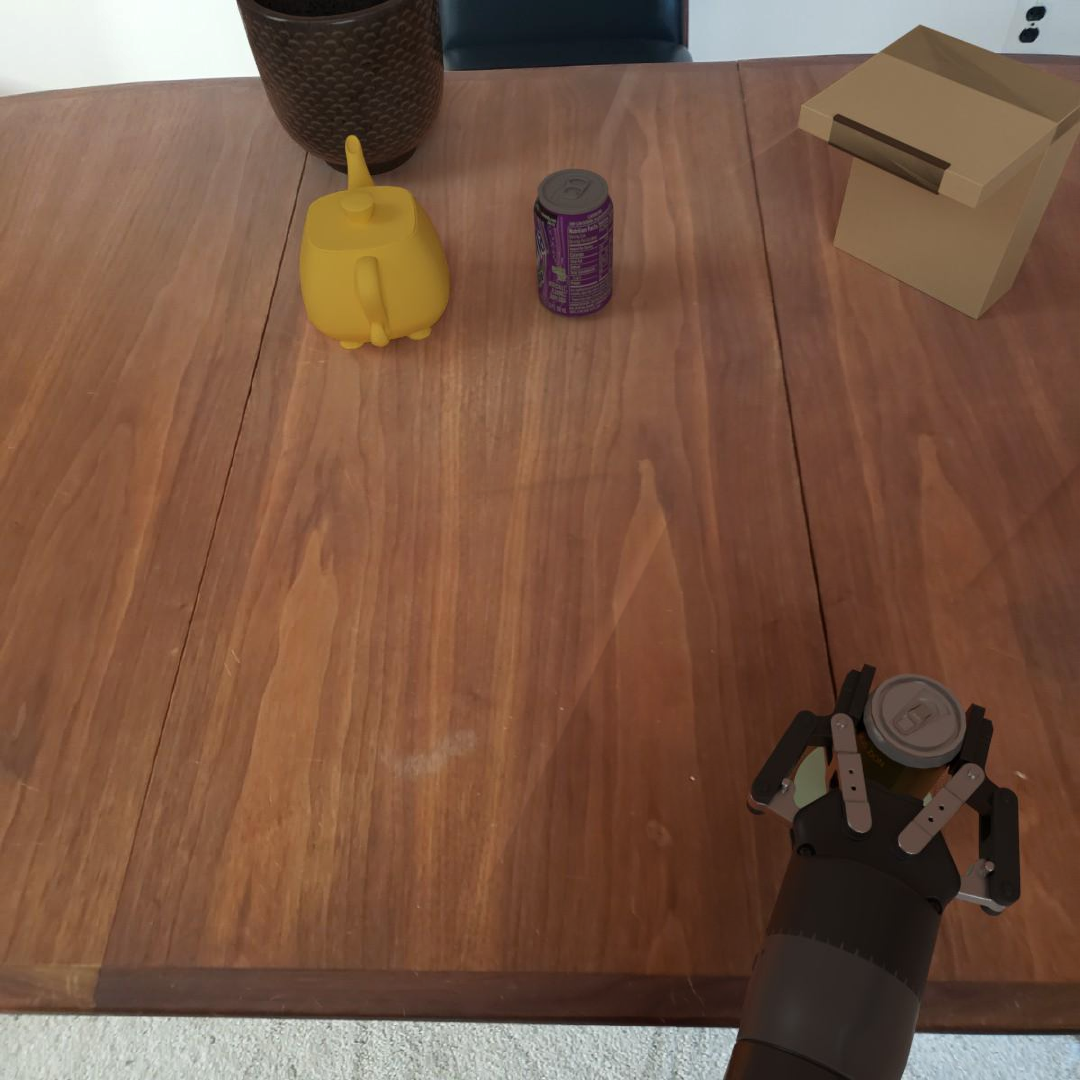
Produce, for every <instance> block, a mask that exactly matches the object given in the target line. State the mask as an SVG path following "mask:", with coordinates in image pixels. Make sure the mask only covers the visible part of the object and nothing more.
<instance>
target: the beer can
mask: <svg viewBox="0 0 1080 1080" xmlns="http://www.w3.org/2000/svg"><path fill="white" fill-rule="evenodd" d="M965 730H966V715H965V710H964V708H963V705H962V703H961V701H960V700H959V699H958V698H957V696H956V695H955V694H954V692H953V691H952V690H951V689H949V688H948V687H947V686H946V685H945V684H943V683H942V682H940V681H939V680H936V679H934V678H932V677H930V676H927V675H925V674H924V675H923V674H917V673H901V674H896V675H894V676H891V677H889V678H888V679H885V680H884V681H883V682H882V683H881V684H878V685H877V686H875V688H874V689H873V690H872V691H871V692H869V694H868V697H867V700H866V703H865V706H864V709H863V713H862V716H861V719H860V721H859V723H858V725H857V727H856V729H855V738H856V745H857V751H858V753H860V755H861V761H862V767H863V774H864V777H866V778H868V779H871V780H873V781H876V782H878V783H880V784H882V785H883V786H885V787H886V788H887V789H889V790H890V791H892V792H894V793H900V794H906V795H911V796H913V797H916V798H918V799H921V800H924V799H925V797H926V796H927V795H928V793H929V792H930V793H931V791H932V789H933V788H934V786H935V785H936V784H937V783H938V781H939V780H940V779H941V778H942V775H944V773H945V772H946V770H947V769H949V766H950V764H951V762H952V761H953V760H954V758H955V757H956V756H957V754H958V753H959V752H960V750H961V747H962V744H963V741H964V738H965ZM826 793H827V792H826Z"/></svg>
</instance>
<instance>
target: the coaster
mask: <svg viewBox="0 0 1080 1080" xmlns="http://www.w3.org/2000/svg"><path fill="white" fill-rule="evenodd" d="M825 773H826V766H825V758H824V750H823V747H816V748H815V749H813V750H812V751H811V752H810V753H809V754H807V755H806V757H805V758H804V759H803V760H802V762H801V763H800V765H799V767H798V768H797V771H796V773H795V776H794V777H793V780H792V781H793V782H794V784H795V788H796V790H795V793H794V797H793V799H794V802H795V804H796V806H797V807H798V808H800V809H801V808H802V807H804V806H806V805H807V804H809V803H811V802H813V801H814V800H816V799H818V798H819V797H821V796H823V795H825V794H826V784H825ZM932 799H933V797H932V794H931V791H930V792H929V793H928V795H927V796H926V797H925V799H924V800H923V801H924V804H923V805H924V806H926V805H927V804H928V803H929V802H930V801H931V800H932Z"/></svg>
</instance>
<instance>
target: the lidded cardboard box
mask: <svg viewBox="0 0 1080 1080" xmlns="http://www.w3.org/2000/svg"><path fill="white" fill-rule="evenodd" d="M798 116H799V117H798V123H797V129H800V130H802V131H803V132H805V133H808V134H810V135H812V136H815V137H817V138H818V139H821V140H823V141H825V142H827V145H828V146H830V147H832V148H835V149H837V150H839V151H840V152H842V153H844V154H848V155H850V156H851V157H853V160H852V163H851V168H850V172H849V176H848V179H847V184H846V188H845V193H844V197H843V200H842V205H841V208H840V214H839V218H838V222H837V226H836V230H835V235H834V238H833V243H832V246H833V247H834V248H836V249H839V250H840V251H842V252H845V253H846V254H849V255H850V256H852V257H854V258H856V259H858V260H860V261H862V262H863V263H866V264H867V265H870V266H871V267H873V268H875V269H877V270H879V271H881V272H883V273H885V274H887V275H889V276H891V277H893V278H895V279H896V280H898V281H900V282H902V283H904V284H906V285H908V286H910V287H911V288H914V289H915V290H918V291H919V292H922V293H924V294H926V296H927V295H928V296H929V297H931V298H933V299H935V300H937V301H938V302H941V303H943V304H945V305H947V306H948V307H951V308H953V309H954V310H955V311H959V312H960V313H962V314H964V315H965V316H967V317H970V318H972V319H973V320H976V321H977V320H978V319H979V318H981V317H982V316H983V315H984V314H985V313H986V312H987V311H988V310H989V309H990V308H991V307H992V306H994V305H995V304H996V303H997V302H998V301H999V300H1000V299H1001V298H1002V297H1003V296H1004V295H1006V294H1007V293H1008V292H1009V291H1010V290H1012V288H1013V285H1014V283H1015V280H1016V278H1017V275H1018V274H1019V271H1020V269H1021V267H1022V264H1023V262H1024V260H1025V258H1026V255H1027V253H1028V251H1029V249H1030V246H1031V244H1032V242H1033V239H1034V237H1035V234H1036V232H1037V230H1038V228H1039V226H1040V224H1041V222H1042V218H1043V216H1044V215H1045V212H1046V210H1047V208H1048V205H1049V203H1050V201H1051V199H1052V196H1053V194H1054V192H1055V189H1056V187H1057V185H1058V182H1059V180H1060V178H1061V176H1062V173H1063V171H1064V168H1065V167H1066V164H1067V162H1068V160H1069V157H1070V156H1071V153H1072V150H1073V148H1074V146H1075V143H1076V141H1077V139H1078V137H1079V135H1080V84H1078V83H1076V82H1074V81H1071V80H1068V79H1065V78H1063V77H1060V76H1058V75H1055V74H1053V73H1050V72H1048V71H1044V70H1041V69H1039V68H1036V67H1034V66H1031V65H1029V64H1027V63H1023V62H1020V61H1019V60H1015V59H1013V58H1010V57H1008V56H1004V55H1002V54H1000V53H998V52H997V53H996V52H994V51H992V50H989V49H986V48H984V47H981V46H978V45H976V44H974V43H970V42H968V41H965V40H963V39H961V38H957V37H954V36H952V35H949V34H947V33H944V32H941V31H938V30H936V29H934V28H930V27H928V26H925V25H923V24H918V25H916V26H914V28H912V29H910V30H909V31H907V32H906V33H905V34H904V35H902V36H900V37H899V38H897V39H896V40H894V41H893V42H892V43H889V45H887V46H885V48H883V49H881V50H880V51H879V52H877V53H875V54H874V55H873V56H871V57H870V58H868V59H866V60H865V61H864V62H862V63H861V64H859V65H858V66H857V67H854V68H853V69H852V70H851V71H849V72H847V73H846V74H845V75H843V76H842V77H840V78H839V79H837V80H836V81H835V82H833V83H832V84H830V85H829V86H827V87H825V88H823V90H821V91H819V92H818V93H817V94H815V95H814V96H812V97H811V98H810V99H808V100H806V101H805V102H804V103H802V104H801V105H800V111H799V115H798Z"/></svg>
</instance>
